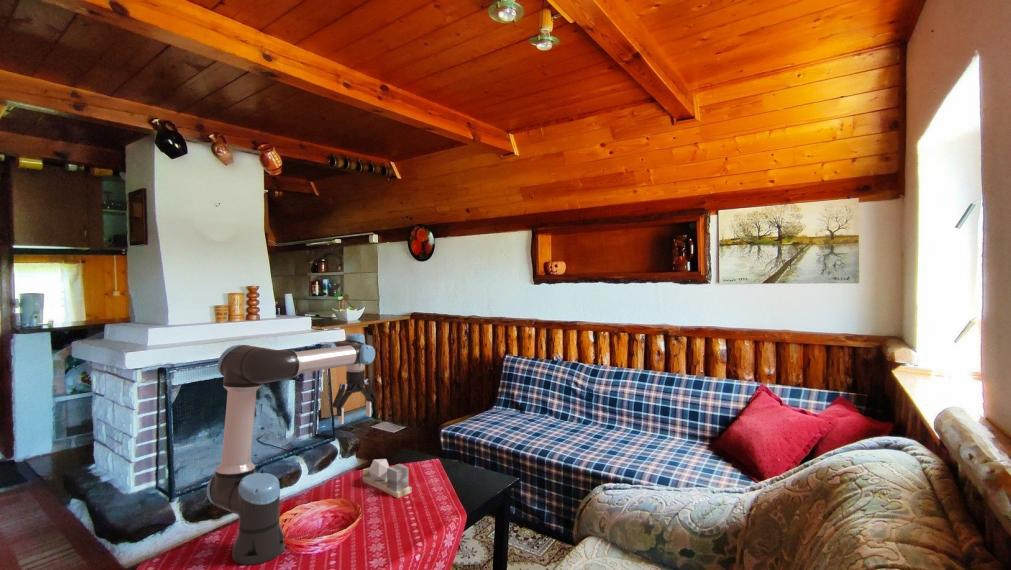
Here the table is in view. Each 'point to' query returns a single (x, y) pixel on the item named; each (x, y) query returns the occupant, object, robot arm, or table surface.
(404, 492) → the rail
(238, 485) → the robot arm
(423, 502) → the table surface
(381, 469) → the die
